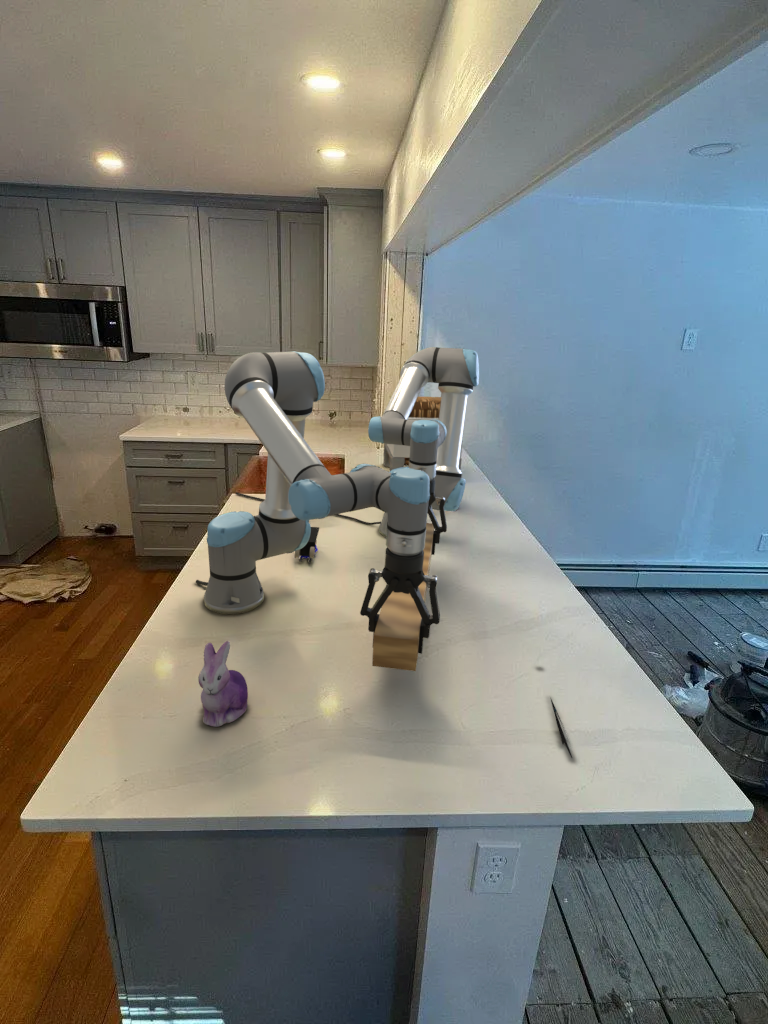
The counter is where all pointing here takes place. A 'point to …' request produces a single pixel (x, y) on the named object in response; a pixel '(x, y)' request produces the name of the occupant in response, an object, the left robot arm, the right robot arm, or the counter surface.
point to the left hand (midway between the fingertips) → (397, 646)
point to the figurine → (221, 688)
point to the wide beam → (401, 623)
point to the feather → (560, 728)
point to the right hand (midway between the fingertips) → (416, 551)
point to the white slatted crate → (421, 411)
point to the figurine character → (309, 546)
